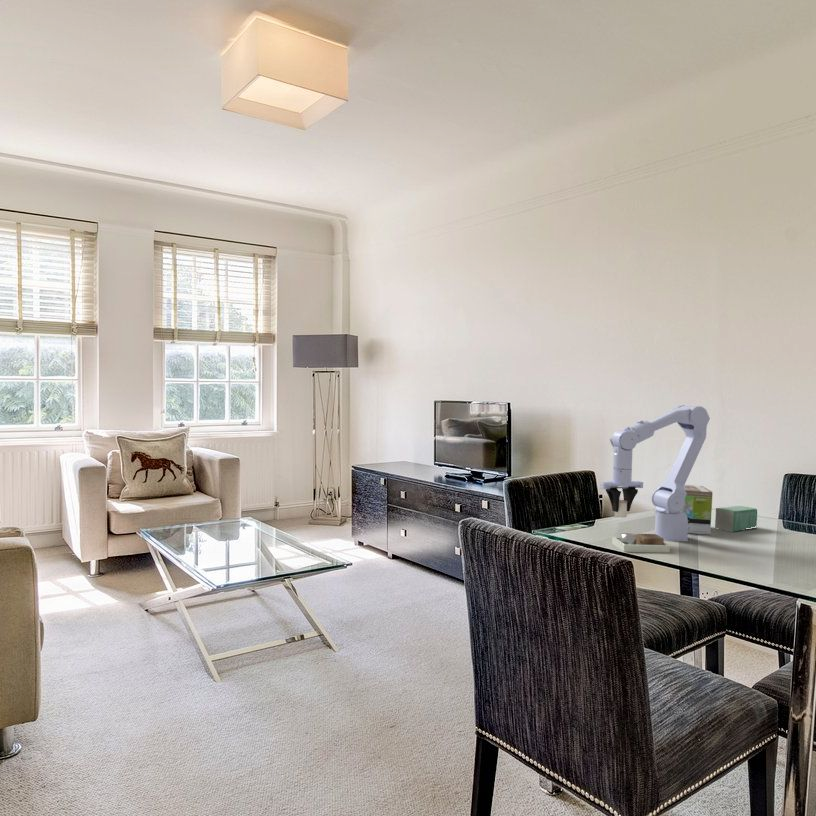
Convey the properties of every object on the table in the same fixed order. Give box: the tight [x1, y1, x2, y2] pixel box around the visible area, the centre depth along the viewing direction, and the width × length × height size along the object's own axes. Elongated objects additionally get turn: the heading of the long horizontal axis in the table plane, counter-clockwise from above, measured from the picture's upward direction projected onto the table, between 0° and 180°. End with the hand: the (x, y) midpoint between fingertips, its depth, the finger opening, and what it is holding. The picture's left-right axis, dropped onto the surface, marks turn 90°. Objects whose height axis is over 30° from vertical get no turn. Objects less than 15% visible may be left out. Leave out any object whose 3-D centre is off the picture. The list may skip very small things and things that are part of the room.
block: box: [635, 533, 665, 545], centre depth 205 cm, size 6×6×4 cm
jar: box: [614, 499, 628, 518], centre depth 216 cm, size 4×4×5 cm
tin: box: [620, 532, 637, 545], centre depth 205 cm, size 4×4×4 cm
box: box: [714, 505, 758, 533], centre depth 238 cm, size 7×14×8 cm, turn 120°
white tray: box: [611, 536, 671, 554], centre depth 205 cm, size 14×10×2 cm
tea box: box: [680, 484, 713, 535], centre depth 235 cm, size 15×10×15 cm, turn 168°
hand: (620, 511), depth 216 cm, fingers closed on jar, 4 cm apart
